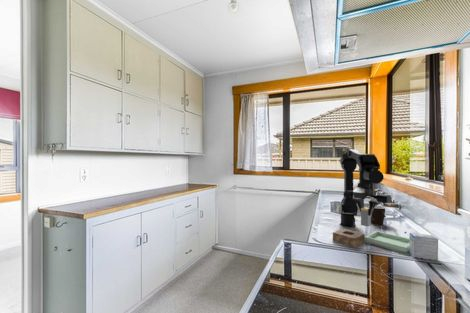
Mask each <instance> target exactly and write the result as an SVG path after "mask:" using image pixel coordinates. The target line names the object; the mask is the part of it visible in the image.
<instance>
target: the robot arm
mask: <svg viewBox="0 0 470 313" xmlns="http://www.w3.org/2000/svg"><path fill="white" fill-rule="evenodd" d="M339 163H340V168H341V169H342V170H343V176H344V177H343V178H344V180H343V182H344V184H343V185H344V187H343V188H344V189H343V190H344V192H343V198H342V200H341V202H340V206H339V207H338V213H339V215H340V222H339V225H340V226H343V225H344V227H347V228H352V227H355V226H356V218H355V216H356V217H357V216H358V210H359V211H360V213H361V208H362V207H365V199H370V200H368V204H369V205H368V206H369V207H368V208H369V216H370V215H371V214H372V212H373V210H374V208H375V206H378V204H379V203H384V204H388V203H391V202H392V199H393V198H392V196H391V194H384V193H381V194H377V195H376V194H375V191H374V186H375V185H376V184H378V185H379V184H380V183H382V182H383V180H384V174H383V172H381V171H380V169H381V167H380V166H381V164H380V162H379V160H378V158H377V156H376V154H374V153H364V152H362V151H360V150H359V149H357V148H356V149H355V148H352V149H351V148H350V149H347V151H346V152H344V153H343V154H341V157H340V159H339ZM357 166H358V167H357ZM356 168H358V171H359V172H358V173H359V175H358V176H359V177H358V179H359V180H358V183H357V187H355V188H354V172H355V170H356Z"/></svg>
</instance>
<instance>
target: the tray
mask: <svg viewBox="0 0 470 313" xmlns="http://www.w3.org/2000/svg"><path fill="white" fill-rule="evenodd" d="M364 243H366V244H370V245H372V246H373V245H374V246H376V247H380V248H383V249H387V250H390V251H395V252H398V253H401V254H405V255H408V253H410V252H409V249H410V247H409V246H410V237H404V236H401V235H400V236H399V235H395V234H393V233H387V232H383V231H378V230H375V231H373V232H371V233H369V234H368V235H364Z"/></svg>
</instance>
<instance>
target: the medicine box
mask: <svg viewBox="0 0 470 313" xmlns="http://www.w3.org/2000/svg"><path fill="white" fill-rule="evenodd" d="M409 239H410V246H409V247H410V249H409V252H408V253H409V254H410V256H412V258H414V257H417V258H416V259H421V258H423V259H424V260H429V259H431V261H439V238H437V237H436V236H434V235H433V234H426V233H425V234H424V233H413V232H409Z"/></svg>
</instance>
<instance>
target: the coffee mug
mask: <svg viewBox="0 0 470 313" xmlns="http://www.w3.org/2000/svg"><path fill="white" fill-rule="evenodd" d="M368 208H369V205H368ZM385 218H386V207H385V206H382V205H376V206H375V208H374V210H373V212H372V214H371V225H374V226H384V221H385Z"/></svg>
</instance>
